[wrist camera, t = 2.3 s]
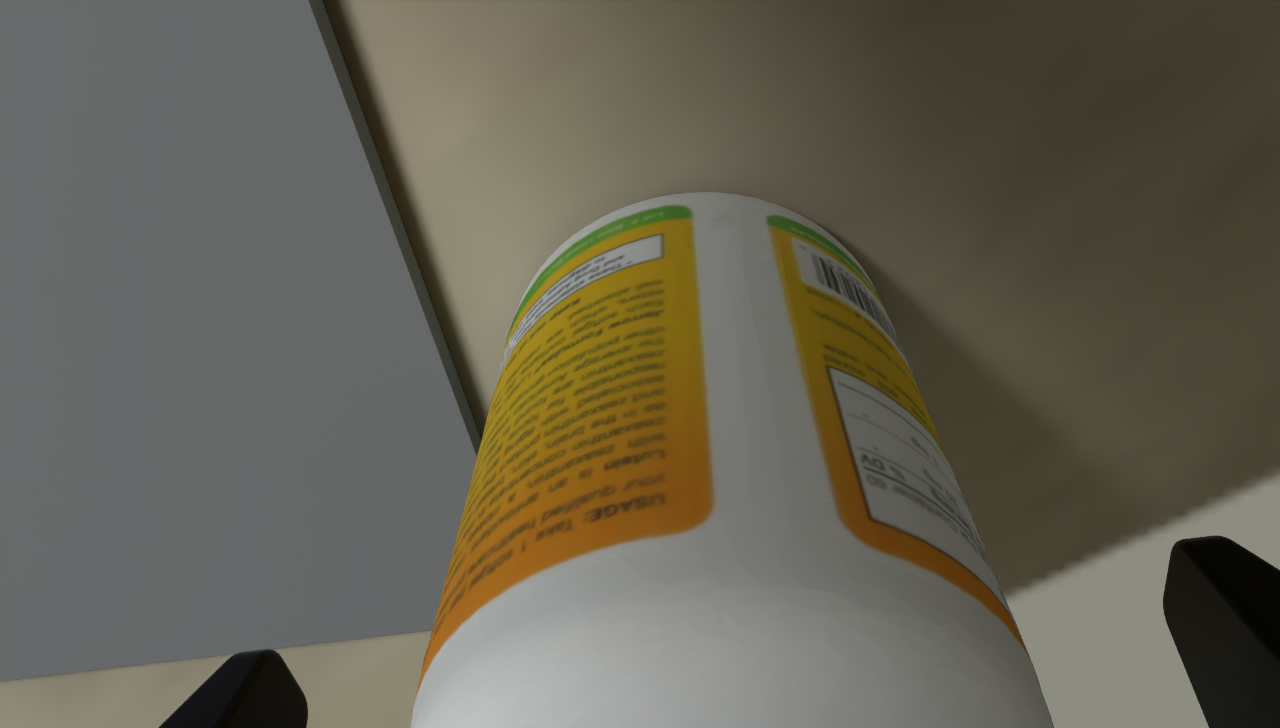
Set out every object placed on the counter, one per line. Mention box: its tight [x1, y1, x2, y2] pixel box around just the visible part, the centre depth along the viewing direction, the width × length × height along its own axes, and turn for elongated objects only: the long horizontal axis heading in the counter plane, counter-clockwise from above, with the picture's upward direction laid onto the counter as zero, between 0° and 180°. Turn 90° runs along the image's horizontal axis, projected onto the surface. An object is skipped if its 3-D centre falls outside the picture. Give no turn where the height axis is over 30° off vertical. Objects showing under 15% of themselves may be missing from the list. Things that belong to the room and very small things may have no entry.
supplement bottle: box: [410, 192, 1054, 728], centre depth 9 cm, size 5×5×10 cm
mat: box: [0, 0, 481, 681], centre depth 14 cm, size 11×13×1 cm
